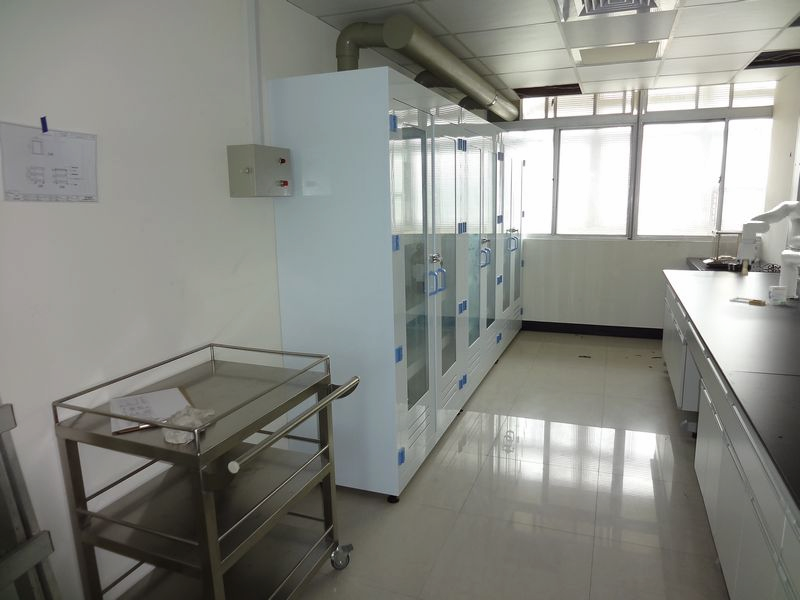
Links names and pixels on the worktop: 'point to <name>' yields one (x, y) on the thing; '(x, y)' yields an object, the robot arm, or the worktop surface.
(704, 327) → the worktop surface
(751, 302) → the shallow wooden box
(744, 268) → the dowel
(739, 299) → the tray
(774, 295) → the ink box
